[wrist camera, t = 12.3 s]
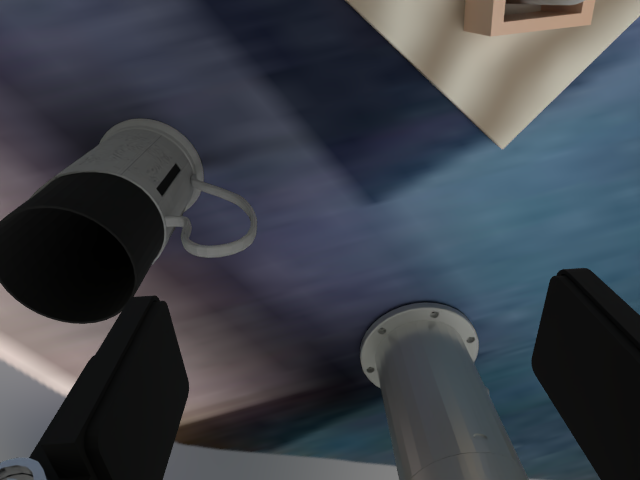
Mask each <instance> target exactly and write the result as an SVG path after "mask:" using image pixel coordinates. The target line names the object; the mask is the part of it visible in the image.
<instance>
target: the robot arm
mask: <svg viewBox="0 0 640 480" xmlns="http://www.w3.org/2000/svg"><path fill="white" fill-rule="evenodd" d="M478 349H479V341H478V336H477V333H476V331H475V329H474V327H473V325H472V323H471V322H470V321H469V320H468V318H467V317H466V316H465V315H464V314H462V313H461V312H459V311H458V310H456V309H454V308H452V307H449V306H447V305H442V304H438V303H426V302H425V303H414V304H410V305H405V306H402V307H399V308H397V309H394V310H392V311H390V312H388V313H386V314H385V315H383V316H381V317H380V318H379V319H378V320H377V321H375V322H374V323H373V324H372V325H371V327H370V328H369V329H368V330H367V332H366V333H365V335H364V337H363V339H362V342H361V346H360V360H361V366H362V369H363V372H364V373H365V375H366V376H367V378H368V379H369V380H370V381H371V382H372V383H373V384H374V385H375V386H377V387H379V388H381V392H382V397H383V402H384V407H385V412H386V417H387V422H388V427H389V432H390V437H391V442H392V447H393V451H394V456H395V461H396V466H397V471H398V476H399V480H529V479H528V477H527V475H526V472H525V470H524V468H523V466H522V464H521V462H520V460H519V458H518V456H517V453H516V451H515V449H514V447H513V445H512V443H511V441H510V439H509V436H508V434H507V432H506V430H505V428H504V426H503V424H502V422H501V420H500V417H499V415H498V413H497V411H496V409H495V407H494V405H493V403H492V400H491V398H490V396H489V389H488V388H487V387H485V386H484V383H483V381H482V379H481V377H480V375H479V373H478V371H477V369H476V367H475V364H474V362H475V360H476V357H477V354H478ZM532 368H533V371H534V373H535V375H536V377H537V379H538V380H539V382H540V383H541V385H542V386H543V388H544V390H545V391H546V393H547V394H548V396H549V398H550V399H551V401H552V402H553V404H554V406H555V407H556V409H557V410H558V412H559V414H560V415H561V417H562V418H563V420H564V422H565V423H566V425H567V426H568V428H569V430H570V431H571V433H572V434H573V436H574V438H575V439H576V441H577V442H578V444H579V445H580V447H581V449H582V450H583V452H584V453H585V455H586V457H587V458H588V460H589V461H590V463H591V465H592V466H593V468H594V469H595V471H596V473H597V474H598V476H599V477H600V479H601V480H640V315H639V314H638V313H636V312H635V311H634V310H633V309H632V308H631V307H630V306H629V305H628V304H627V303H626V302H625V301H623V300H622V299H621V298H620V297H619V296H618V295H617V294H616V293H615V292H614V291H613V290H611V289H610V288H609V287H608V286H607V285H606V284H605V283H604V282H603V281H602V280H601V279H599V278H598V277H597V276H596V275H595V274H594V273H593V272H592V271H591V270H589V269H587V268H578V269H563V270H560V271H559V272H558V273H557V275H556V276H553V277H552V278H551V280H550V283H549V287H548V291H547V295H546V300H545V304H544V308H543V312H542V317H541V321H540V325H539V330H538V334H537V338H536V342H535V347H534V351H533V355H532ZM188 393H189V382H188V378H187V374H186V370H185V367H184V363H183V360H182V356H181V352H180V349H179V345H178V342H177V338H176V334H175V331H174V327H173V324H172V320H171V316H170V313H169V309H168V306H167V303H166V302H165V301H160V300H159V298H158V297H157V296H142V297H132V298H130V299H129V300H128V302H127V304H126V305H125V307H124V309H123V310H122V312H121V314H120V315H119V317H118V319H117V320H116V322H115V323H114V325H113V327H112V328H111V330H110V332H109V333H108V335H107V337H106V338H105V340H104V342H103V343H102V345H101V347H100V348H99V350H98V351H97V353H96V355H95V356H93V357H92V358H91V359H90V360H89V362H88V363H87V365H86V366H85V368H84V370H83V371H82V373H81V374H80V376H79V378H78V379H77V381H76V383H75V384H74V386H73V387H72V389H71V391H70V392H69V394H68V396H67V397H66V399H65V400H64V402H63V404H62V405H61V407H60V409H59V410H58V412H57V414H56V415H55V417H54V419H53V420H52V422H51V423H50V425H49V426H48V428H47V430H46V431H45V433H44V434H43V436H42V438H41V439H40V441H39V443H38V444H37V446H36V447H35V449H34V451H33V452H32V454H31V456H30V457H29V458H14V459H10V460H6V461H3V462H0V480H163V476H164V473H165V470H166V467H167V463H168V460H169V457H170V454H171V450H172V447H173V444H174V440H175V437H176V434H177V431H178V427H179V424H180V421H181V417H182V414H183V411H184V408H185V404H186V401H187V398H188Z"/></svg>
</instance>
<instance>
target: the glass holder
mask: <svg viewBox="0 0 640 480" xmlns="http://www.w3.org/2000/svg"><path fill="white" fill-rule="evenodd" d="M203 181H204V173H203V167H202V163H201V160H200V157H199V155H198V153H197V151H196V150H195V148H194V147H193V145H192V144H191V143H190V142H189V140H188V139H187V138H186V137H185V136H184V135H182V134H181V133H180V132H179V131H177V130H176V129H174V128H172V127H171V126H169V125H167V124H164V123H162V122H159V121H155V120H151V119H140V118H139V119H130V120H127V121H123V122H120V123H119V124H117V125H115V126H113V127H112V128H111V129H110V130H108V131H107V132H106V133H105V135H104V136H103V138H102V139H101V141H100V143H99V145H98V146H96V147H95V148H94V149H92V150H91V151H89V152H88V153H87V154H85V155H84V156H82V157H81V158H80V159H78V160H77V161H75V162H74V163H73V164H71V165H70V166H69V167H67V168H66V169H64V170H63V171H62V172H60V173H59V174H57V175H56V176H55V177H53V178H52V179H51V180H49V181H48V182H47V183H46V184H44V185H43V186H42V187H41V188H39V189H38V190H37V191H36V192H35V193H34V194H33V195H32V196H31V198H30V199H29V200H28V201H26V202H25V203H23V204H22V205H21V206H19V207H18V208H17V209H15V210H14V211H13V212H11V213H10V214H9V215H7V216H6V217H5V218H4V219H3V220H1V221H0V283H1V284H2V285H3V287H4V288H5V289H6V291H7V292H9V293H10V294H11V295H12V296H13V297H14V298H15V299H16V300H17V301H19V302H20V303H21V304H23V305H24V306H26V307H27V308H29V309H31V310H32V311H34V312H36V313H38V314H41V315H43V316H45V317H48V318H51V319H54V320H58V321H62V322H68V323H79V324H86V323H96V322H100V321H104V320H107V319H109V318H111V317H114V316H116V315H117V314H118V313H120V312H121V311H122V310H123V309H124V307H125V305H126V304H127V302H128V300H129V299H130V298H132V297H134V295H135V293H136V291H137V290H138V288H139V286H140V284H141V282H142V281H143V279H144V277H145V275H146V274H147V272H148V270H149V268H150V267H151V265H152V264H153V263H154V262H155V261H156V260H157V259H158V258H159V256H160V254H161V253H162V251H163V249H164V247H165V246H166V244H167V242H168V240H169V238H170V236H171V235H172V233H173V231H174V229H175V227H176V226H178V227H183V229H182V233H181V240H182V243H183V247H184V248H185V249H186V250H187V251H188V252H189V253H190V254H193V255H196V256H198V257H206V258H213V257H223V256H228V255H233V254H235V253H238V252H240V251H243V250H245V249H246V248H247V247H248V246H250V245H251V244H252V243H253V240H254V238H255V236H256V231H257V218H256V215H255V212H254V210H253V208H252V207H251V205H250V204H249V203H248V202H247V201H246V200H245V199H244V198H243V197H241V196H240V195H238V194H235V193H233V192H230V191H228V190H225V189H222V188H220V187H217V186H214V185H211V184H208V183H205V182H203ZM201 191H203V192H206V193H209V194H212V195H215V196H218V197H220V198H223V199H225V200H228V201H230V202H232V203H234V204H236V205H238V206H239V207H240V208H241V209H243V210H244V211H245V213H246V214H247V215H248V216H249V218H250V221H251V227H250V229H249V231H248V233H247V234H246V235H245V236H244V237H242V238H241V239H240V240H237V241H234V242H231V243H228V244H222V245H214V246H206V245H199V244H197V243H194V242H192V241H191V240H190V239H189V236H190V234H191V229H192V227H191V223H190V221H189V219H188V218H186V217H183V216H182V215H183V213H184V212H185V211H186V210H187V209H189V208H190V207H191V206H192V205H193V204H194V203H195V202H196V200H197V199H198V197H199V195H200V193H201Z"/></svg>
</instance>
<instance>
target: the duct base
mask: <svg viewBox="0 0 640 480" xmlns="http://www.w3.org/2000/svg"><path fill="white" fill-rule="evenodd" d="M345 1H346V2H347V3H348V4H349V5H350V6H351V7H352V8H353V9H354V10H355V11H356V12H357V13H358V14H360V15H361V16H362V17H363V18H364V19H365V20H366V21H367V22H368V23H369V24H370V25H371V26H372V27H373V28H374V29H375V30H376V31H377V32H378V33H379V34H381V35H382V36H383V37H384V38H385V39H386V40H387V41H388V42H389V43H390V44H391V45H392V46H393V47H394V48H395V49H396V50H397V51H398V52H399V53H400V54H401V55H403V56H404V57H405V58H406V59H407V60H408V61H409V62H410V63H411V64H412V65H413V66H414V67H415V68H416V69H417V70H418V71H419V72H420V73H421V74H422V75H423V76H425V77H426V78H427V79H428V80H429V81H430V82H431V83H432V84H433V85H434V86H435V87H436V88H437V89H438V90H439V91H440V92H441V93H442V94H443V95H444V96H445V97H447V98H448V99H449V100H450V101H451V102H452V103H453V104H454V105H455V106H456V107H457V108H458V109H459V110H460V111H461V112H462V113H463V114H464V115H465V116H466V117H467V118H469V119H470V120H471V121H472V122H473V123H474V124H475V125H476V126H477V127H478V128H479V129H480V130H481V131H482V132H483V133H484V134H485V135H486V136H487V137H488V138H489V139H491V140H492V141H493V142H494V143H495V144H496V145H497V146H499V147H500V148H501V149H504V148H505V147H506V146H507V145H508V144H509V143H510V142H511V141H512V140H513V139H514V138H515V137H516V136H517V135H518V134H519V133H520V132H521V131H522V130H523V129H524V128H525V127H526V126H527V125H528V124H529V123H530V122H531V121H532V120H533V119H534V118H535V117H536V116H537V115H538V114H539V113H540V112H542V111H543V110H544V109H545V108H546V107H547V106H548V105H549V104H550V103H551V102H552V101H553V100H554V99H555V98H556V97H557V96H558V95H559V94H560V93H561V92H562V91H563V90H564V89H565V88H566V87H567V86H568V85H569V84H570V83H571V82H572V81H573V80H574V79H575V78H576V77H577V76H578V75H579V74H580V73H581V72H582V71H584V70H585V69H586V68H587V67H588V66H589V65H590V64H591V63H592V62H593V61H594V60H595V59H596V58H597V57H598V56H599V55H600V54H601V53H602V52H603V51H604V50H605V49H606V48H607V47H608V46H609V45H610V44H611V43H612V42H613V41H614V40H615V39H616V38H617V37H618V36H619V35H620V34H621V33H622V32H623V31H625V30H626V29H627V28H628V27H629V26H630V25H631V24H632V23H633V22H634V21H635V20H636V19H637V18H638V17H639V16H640V0H595V5H594V10H593V16H592V21H591V25H585V26H577V27H568V28H560V29H551V30H542V31H534V32H525V33H517V34H508V35H499V36H486V35H481V34H476V33H471V32H466V31H464V13H465V0H345ZM583 1H585V0H506V2H505V12H504V15H511V14H519V13H528V12H536V11H541V5H575V4H578V3H581V2H583Z"/></svg>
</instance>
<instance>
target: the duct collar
mask: <svg viewBox="0 0 640 480" xmlns="http://www.w3.org/2000/svg"><path fill="white" fill-rule="evenodd" d="M505 2H506V0H465V13H464V31H466V32H471V33H476V34H481V35H486V36H499V35H508V34H517V33H525V32H534V31H542V30H551V29H560V28H568V27H577V26H585V25H591V21H592V16H593V10H594V5H595V0H585V1H583V2H581V3H578V4H575V5H541V11H536V12H528V13H519V14H511V15H504V12H505Z"/></svg>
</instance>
